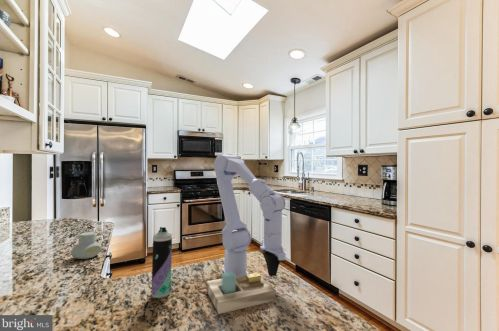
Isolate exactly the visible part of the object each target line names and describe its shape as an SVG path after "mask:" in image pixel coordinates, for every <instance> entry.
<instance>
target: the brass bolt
mask: <svg viewBox="0 0 499 331" xmlns="http://www.w3.org/2000/svg"><path fill="white" fill-rule="evenodd" d="M251 273H252V274H247V275H246V284H247V285H248V284H253V283H258V282H261V277H262V275H261V274H260V273H259V272H256V273H255V272H251Z"/></svg>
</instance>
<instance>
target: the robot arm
mask: <svg viewBox="0 0 499 331" xmlns="http://www.w3.org/2000/svg"><path fill="white" fill-rule="evenodd" d="M213 169H214V173H215V178H216V183H217V189H218V192H219V197H220V201H221V206H222V210H223V214H224V218H225V219H224V220H225V223H226V224H225V226H224V227H223V228H222V230H221V233H222V238H221V239H222V241H221V242H222V246H223V247H224V249H225V250H224V253H223V254H224V256H223V257H224V258H223V259H224V261H223V263H224V264H223V265H224V267H222V268H221V270H222V272H223V273H225V272H234V273H235V274H236V276H238V275H244V274H249V273H250V272H249V271H247V259H248V258H247V253H248V252H247V249H248V248H249V245H250V244H251V242H252V235H251V232H250V231H249V228H248V227H247V226H248V225H247V224H246V223H244V222H243V221H242V219H241V216H240V213H239V208H238V204H237V200H236V195H235V192H234V187H233V184H232V183H233V182H232V181H233V179H234V178H236V176H237V175H238V176H239V177H240V178H241V179H242V180H243V181H244V182H245V183H246V184H247V185H248V186H249V187H248V191H249V192H250V193H251V194H252V195H253V196H254V198H255V199H256V200H257V201H258V202H259V206H260V209H261V211H262V216H263V239H261V245H260V246H259V249H260V250H262V256H263V258H264V261H265V264H266V267H267V268H266V269H267V273H268V276H269V277H276V276H277V275H278V274H277V273H278V270H279V267H280V266H279V265H280V264H281V261H286V252H285V250H284V247H283V245H282V239H283V237H282V236H283V233H282V232H283V231H282V229H283V226H282V225H283V224H282V222H283V212H282V211H283V210H285V207H286V199H285V198H284V196H283V195H282V193H276V192H275V190H274V189H272V188H271V187H270V186H269V185H268V184H267V181H266V180H265V179H261V178H257V177H256V175H254V174H253V172H252V171H251V170H250V169H249V167H247V165H246V164H245V160H244V159H243V158H242V157H241V156H240V155H227V154H222V153H221V154H218V155H217V156H216V157H215V160H214V162H213Z"/></svg>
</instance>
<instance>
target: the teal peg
mask: <svg viewBox="0 0 499 331" xmlns="http://www.w3.org/2000/svg"><path fill="white" fill-rule="evenodd" d="M221 279H222V294H223V295H225V294H230V293H234V292H236V274H235V273H234V272H225V273H224V272H223V273H222V274H221Z"/></svg>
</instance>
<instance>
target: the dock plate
mask: <svg viewBox="0 0 499 331" xmlns="http://www.w3.org/2000/svg"><path fill="white" fill-rule="evenodd" d="M252 273H253V272H249V274H252ZM254 273H257V272H256V271H255V272H254ZM246 275H247V274H244V275H238V276H236V292H234V293H230V294H225V295H223V294H222V278H218V279H212V280H208V281H206V293H207V295H208V296H209V299H210V300H211V302H212V304H213V306H214V309H215V310H216V312H217V314H218V315H221V314H225V313H229V312H233V311H237V310H242V309H245V308H246V309H247V308H249V307H254V306H258V305H262V304H266V303H271V302H275V301H276V289H275V288H274V287H273V286H272V285H270V283H268V282H267V281H266V280H265V279H264V278H263V277H262V276H261V282H258V283H253V284H248V285H247V284H246Z"/></svg>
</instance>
